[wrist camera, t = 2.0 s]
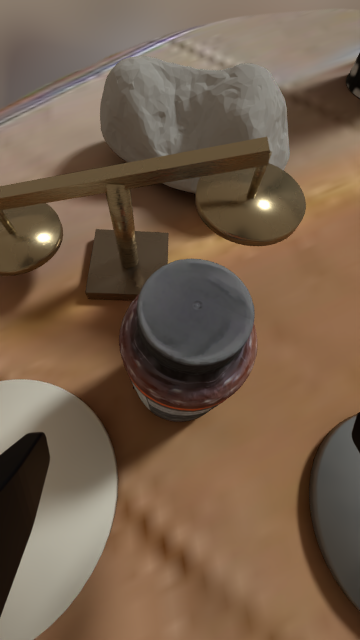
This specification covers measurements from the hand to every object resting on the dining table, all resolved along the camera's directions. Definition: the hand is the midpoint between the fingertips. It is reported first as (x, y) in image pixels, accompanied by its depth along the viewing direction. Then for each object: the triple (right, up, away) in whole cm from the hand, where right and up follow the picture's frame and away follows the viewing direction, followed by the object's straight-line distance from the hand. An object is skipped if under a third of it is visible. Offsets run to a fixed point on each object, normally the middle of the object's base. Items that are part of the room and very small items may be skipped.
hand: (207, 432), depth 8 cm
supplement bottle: (-1, -1, +12) cm, 12 cm away
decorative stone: (0, +18, +20) cm, 27 cm away
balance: (-5, +7, +15) cm, 17 cm away
